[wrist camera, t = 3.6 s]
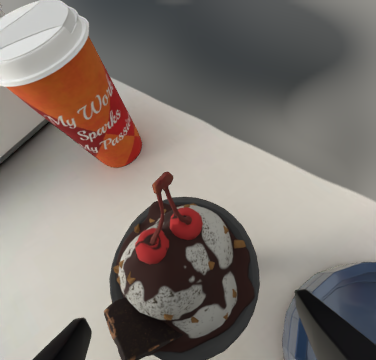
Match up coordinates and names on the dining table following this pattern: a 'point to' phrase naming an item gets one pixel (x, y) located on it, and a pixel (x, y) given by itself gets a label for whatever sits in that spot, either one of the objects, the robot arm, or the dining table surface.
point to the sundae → (181, 280)
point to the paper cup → (66, 79)
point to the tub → (16, 120)
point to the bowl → (335, 305)
